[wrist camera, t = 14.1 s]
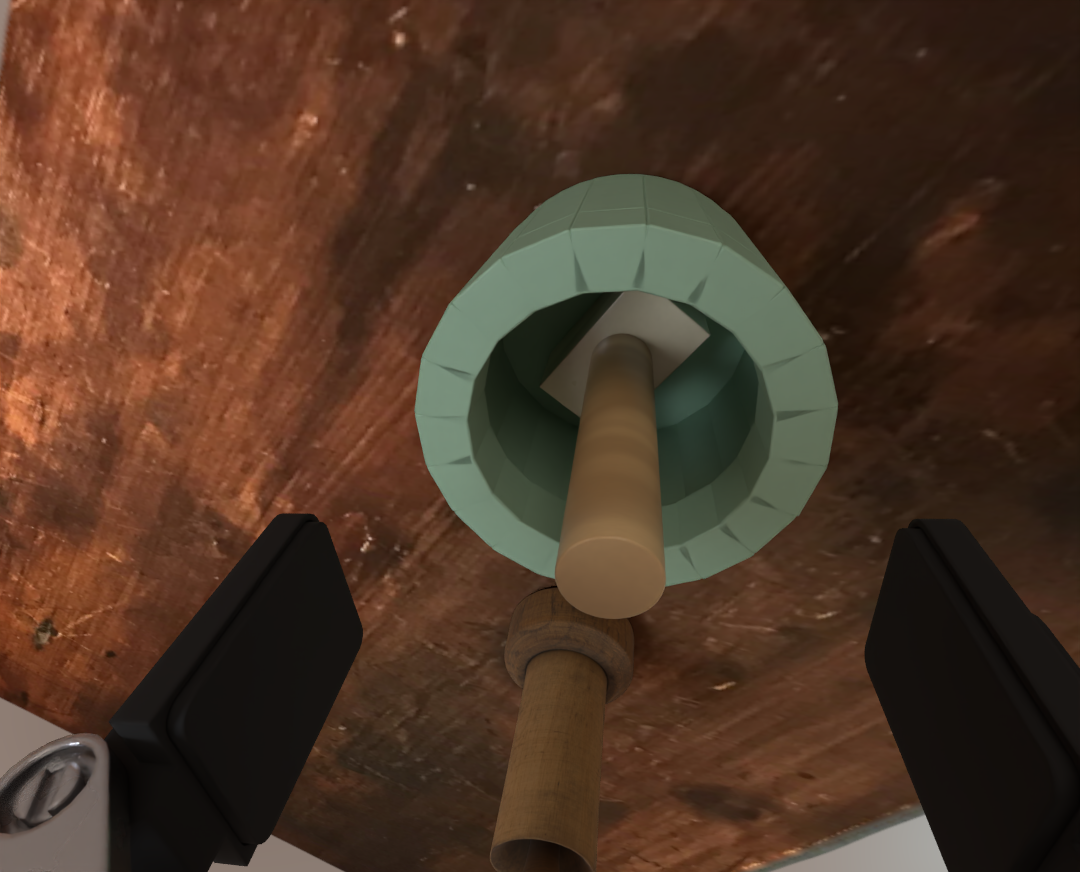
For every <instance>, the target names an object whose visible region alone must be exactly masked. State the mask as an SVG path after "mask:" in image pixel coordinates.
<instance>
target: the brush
mask: <svg viewBox="0 0 1080 872" xmlns="http://www.w3.org/2000/svg"><path fill="white" fill-rule="evenodd" d="M709 337H710V332H709V328H708V325H707V322H706V319H705V315H704V314H703V313H702V312H700V311H699V310H697V309H696V308H694V307H693V306H691V305H689V304H686V303H682V302H678V301H674V300H671V299H667V298H663V297H659V296H656V295H652V294H648V293H644V292H641V291H622V292H603V293H602V294H601V295H600V296H599V297H598V299H597V300H596V301H595V302H594V303H593V304H592V306H591V307H590V308H589V309H588V310H587V311H586V312H585V314H584V315H583V316H582V317H581V318H580V319H579V321H578V322H577V323H576V324H575V325H574V326H573V327H572V329H571V330H570V331H569V332H568V333H567V334H566V336H565V337H564V338H563V339H562V340H561V341H560V343H559V344H558V345H557V346H556V347H555V348H554V349H553V351H552V352H551V353H550V356H549V359H548V362H547V365H546V368H545V371H544V374H543V377H542V380H541V383H540V388H541V389H543V390H544V391H545V392H547V393H548V394H549V395H551V396H552V397H553V398H555V399H556V400H557V401H558V402H560V403H561V404H562V405H564V406H565V407H566V408H568V409H569V410H570V411H572V412H573V413H574V414H575V415H577V416H578V417H579V418H580V424H579V430H578V436H577V442H576V448H575V454H574V460H573V465H572V471H571V477H570V483H569V489H568V495H567V501H566V507H565V513H564V519H563V525H562V530H561V536H560V542H559V548H558V554H557V560H556V566H555V581H556V584H557V587H558V589H559V591H560V593H561V594H562V596H563V597H564V598H565V599H566V600H567V601H568V602H569V603H570V604H571V605H572V606H574V607H575V608H577V609H578V610H580V611H582V612H584V613H586V614H589V615H592V616H595V617H599V618H606V619H622V618H628V617H633V616H636V615H639V614H641V613H643V612H645V611H647V610H648V609H650V608H651V607H652V606H654V605H655V604H656V603H657V601H658V600H659V599H660V597H661V596H662V594H663V591H664V589H665V585H666V571H665V555H664V539H663V523H662V507H661V491H660V474H659V458H658V442H657V426H656V410H655V394H654V390H655V389H656V388H657V387H658V386H659V385H660V384H661V383H662V382H663V381H664V380H665V379H666V378H668V377H669V376H670V375H671V374H672V373H673V372H674V371H675V370H676V369H677V368H678V367H679V366H680V365H681V364H682V363H683V362H684V361H685V360H686V359H687V358H688V357H689V356H690V355H691V354H692V353H693V352H694V351H695V350H696V349H697V348H698V347H699V346H700V345H701V344H702V343H703V342H704V341H705V340H707V339H708V338H709Z"/></svg>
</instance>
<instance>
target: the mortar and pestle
mask: <svg viewBox="0 0 1080 872" xmlns="http://www.w3.org/2000/svg"><path fill="white" fill-rule="evenodd" d="M504 657H505V664H506V667H507V670H508V672H509V674H510V676H511V677H512V679H513V680H514V681H515V682H516V683H517V685H518V686H520V687H521V688H522V689H523V693H522V698H521V703H520V708H519V714H518V719H517V724H516V730H515V735H514V740H513V745H512V750H511V755H510V760H509V765H508V770H507V775H506V780H505V785H504V790H503V795H502V800H501V804H500V809H499V814H498V819H497V824H496V828H495V833H494V838H493V843H492V848H491V853H490V861H491V864H492V866H493V867H494V868H495V870H497V871H498V872H596V861H597V838H598V814H599V795H600V778H601V761H602V745H603V729H604V716H605V704H608V703H610V702H612V701H614V700H615V699H617V698H618V697H619V696H621V695H622V694H623V693H624V692H625V691H626V690H627V688H628V687H629V685H630V683H631V680H632V676H633V666H634V633H633V629H632V626H631V624H630V622H629V620H628V619H627V618H622V619H606V618H599V617H595V616H592V615H589V614H586V613H584V612H582V611H580V610H578V609H577V608H575V607H574V606H572V605H571V604H570V603H569V602H568V601H567V600H566V599H565V598H564V597H563V596H562V594H561V593H560V591H559V589H558V587H557V588H550V589H544V590H540V591H538V592H535V593H533V594H531V595H529V596H528V597H526V598H525V599H523V600H522V601H521V602H520V603H519V604H518V606H517V607H516V609H515V611H514V613H513V616H512V619H511V623H510V629H509V634H508V638H507V642H506V646H505V655H504Z"/></svg>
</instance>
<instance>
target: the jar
mask: <svg viewBox="0 0 1080 872" xmlns="http://www.w3.org/2000/svg"><path fill="white" fill-rule="evenodd" d="M622 291H641V292H644V293H648V294H652V295H656V296H659V297H663V298H667V299H671V300H674V301H678V302H682V303H686V304H689V305H691V306H693V307H694V308H696V309H697V310H699V311H700V312H702V313H703V314H704V315H705V319H706V322H707V325H708V328H709V332H710V337H709V338H708V339H707V340H705V341H704V342H703V343H702V344H701V345H700V346H699V347H698V348H697V349H696V350H695V351H694V352H693V353H692V354H691V355H690V356H689V357H688V358H687V359H686V360H685V361H684V362H683V363H682V364H681V365H680V366H679V367H678V368H677V369H676V370H675V371H674V372H673V373H672V374H671V375H670V376H669V377H668V378H666V379H665V380H664V381H663V382H662V383H661V384H660V385H659V386H658V387H657V388H656V389H655V390H654V394H655V410H656V426H657V442H658V458H659V474H660V491H661V507H662V523H663V539H664V555H665V571H666V585H665V587H666V586H670V585H675V584H680V583H685V582H690V581H695V580H700V579H701V578H703V579H705V578H708V577H710V576H712V575H714V574H716V573H718V572H720V571H722V570H724V569H726V568H728V567H730V566H733V565H735V564H737V563H739V562H741V561H743V560H745V559H747V558H749V557H751V556H753V555H754V553H756V552H757V551H759V550H760V549H761V548H762V547H763V546H764V545H765V544H766V543H768V542H769V541H770V540H771V539H772V538H773V537H774V536H776V535H777V534H778V533H779V532H780V531H781V530H782V529H783V528H785V527H786V526H787V525H788V524H789V523H790V522H791V521H793V520H794V519H795V517H796V516H798V515H799V514H800V512H801V511H802V509H803V507H804V506H805V504H806V502H807V501H808V499H809V497H810V496H811V494H812V492H813V490H814V489H815V487H816V485H817V484H818V482H819V480H820V479H821V477H822V475H823V474H824V472H825V470H826V468H827V465H828V461H829V456H830V450H831V445H832V439H833V433H834V428H835V422H836V417H837V411H838V407H837V406H838V401H837V396H836V392H835V387H834V382H833V377H832V373H831V368H830V363H829V359H828V354H827V349H826V345H825V344H824V343H823V339H822V338H821V336H820V335H819V334H818V332H817V331H816V329H815V328H814V326H813V325H812V323H811V322H810V320H809V319H808V317H807V316H806V315H805V313H804V312H803V310H802V309H801V307H800V306H799V304H798V303H797V301H796V300H795V298H794V297H793V295H792V294H791V293H790V291H789V290H788V288H787V287H786V286H785V284H784V283H783V282H782V280H781V279H780V278H779V277H778V275H777V274H776V273H775V271H774V270H773V269H772V268H771V266H770V265H769V264H768V262H767V261H766V260H765V258H764V257H763V256H762V255H761V253H760V252H759V251H758V249H757V248H756V247H755V245H754V244H753V243H752V242H751V240H750V239H749V238H748V236H747V235H746V234H745V233H744V231H743V230H742V229H741V227H740V226H739V225H738V223H737V222H736V221H735V220H734V218H732V217H731V215H730V214H728V213H727V212H725V211H724V210H723V209H722V208H720V207H719V206H718V205H717V204H716V203H715V202H714V201H712V200H711V199H709V198H708V197H706V196H704V195H703V194H701V193H700V192H698V191H697V190H694V189H692V188H690V187H688V186H685V185H683V184H681V183H679V182H676V181H672V180H669V179H665V178H661V177H657V176H649V175H642V174H618V175H611V176H604V177H598V178H595V179H592V180H588V181H585V182H582V183H579V184H576V185H574V186H572V187H570V188H568V189H566V190H563V191H561V192H560V193H558V194H557V195H555V196H553V197H551V198H549V200H546V201H545V202H544V203H543V204H542V205H541V206H540V207H538V208H537V209H536V210H535V211H534V212H532V213H531V214H530V215H529V216H528V217H527V219H525V220H524V221H523V222H522V223H521V224H520V225H519V226H518V227H517V228H516V229H515V230H514V231H513V232H512V233H511V234H510V235H509V236H508V238H507V239H506V240H505V241H504V242H503V243H502V244H501V245H500V247H499V248H498V249H497V250H496V251H495V252H494V253H493V255H492V256H491V257H490V258H489V259H488V260H487V261H486V263H485V264H484V265H483V266H482V267H481V268H480V269H479V270H478V272H477V273H476V274H475V275H474V276H473V277H472V278H471V280H470V281H469V282H468V283H467V284H466V285H465V286H464V288H463V289H462V290H461V291H460V292H459V293H458V294H457V295H456V297H455V298H454V299H453V300H452V301H451V302H450V304H449V305H448V307H447V309H446V311H445V313H444V315H443V317H442V318H441V320H440V322H439V324H438V326H437V328H436V330H435V332H434V334H433V336H432V337H431V339H430V341H429V343H428V345H427V347H426V349H425V351H424V353H423V355H422V358H421V364H420V372H419V380H418V388H417V396H416V403H415V413H416V414H415V417H416V422H417V426H418V431H419V435H420V440H421V444H422V449H423V453H424V458H425V462H426V465H427V468H428V470H429V472H430V473H431V475H432V477H433V478H434V480H435V482H436V484H437V485H438V487H439V489H440V490H441V492H442V494H443V495H444V497H445V499H446V501H447V502H448V504H449V506H450V507H451V509H452V510H453V511H455V514H456V515H457V516H458V517H459V518H460V519H462V520H463V521H464V522H465V523H466V524H467V525H468V526H469V527H470V528H471V529H472V530H473V531H474V532H475V533H476V534H477V535H478V536H480V537H481V538H482V539H483V540H484V541H485V542H486V543H487V544H488V545H489V546H490V547H492V549H493V550H495V551H497V552H499V553H500V554H502V555H504V556H506V557H508V558H510V559H511V560H513V561H515V562H517V563H519V564H520V565H522V566H524V567H526V568H528V569H530V570H531V571H533V572H535V573H537V574H540V575H543V576H546V577H550V578H554V579H555V566H556V560H557V554H558V548H559V542H560V536H561V530H562V525H563V519H564V513H565V507H566V501H567V495H568V489H569V483H570V477H571V471H572V465H573V460H574V454H575V448H576V442H577V436H578V430H579V424H580V418H579V417H578V416H577V415H575V414H574V413H573V412H572V411H570V410H569V409H568V408H566V407H565V406H564V405H562V404H561V403H560V402H558V401H557V400H556V399H555V398H553V397H552V396H551V395H549V394H548V393H547V392H545V391H544V390H543V389H541V388H540V383H541V380H542V377H543V374H544V371H545V368H546V365H547V362H548V359H549V356H550V353H551V352H552V351H553V349H554V348H555V347H556V346H557V345H558V344H559V343H560V341H561V340H562V339H563V338H564V337H565V336H566V334H567V333H568V332H569V331H570V330H571V329H572V327H573V326H574V325H575V324H576V323H577V322H578V321H579V319H580V318H581V317H582V316H583V315H584V314H585V312H586V311H587V310H588V309H589V308H590V307H591V306H592V304H593V303H594V302H595V301H596V300H597V299H598V297H599V296H600V295H601V294H602V293H603V292H622Z"/></svg>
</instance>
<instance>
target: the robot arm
mask: <svg viewBox="0 0 1080 872" xmlns="http://www.w3.org/2000/svg"><path fill="white" fill-rule="evenodd" d="M362 637H363V629H362V625H361V622H360V619H359V616H358V613H357V610H356V607H355V605H354V602H353V599H352V596H351V593H350V590H349V588H348V585H347V582H346V579H345V576H344V573H343V570H342V568H341V565H340V562H339V559H338V556H337V553H336V551H335V548H334V545H333V542H332V539H331V536H330V533H329V531H328V528H327V526H326V525H325V524H324V523H323V522H319V520H318V518H317V517H316V516H315V515H313V514H283V513H282V514H279V515H277V516H276V517H275V518H274V519H273V520H272V521H271V523H270V524H269V525H268V526H267V528H266V529H265V530H264V531H263V532H262V534H261V535H260V536H259V537H258V539H257V540H256V541H255V542H254V544H253V545H252V546H251V547H250V548H249V550H248V551H247V552H246V553H245V555H244V556H243V557H242V558H241V560H240V561H239V562H238V563H237V564H236V566H235V567H234V568H233V569H232V571H231V572H230V573H229V574H228V576H227V577H226V578H225V579H224V580H223V582H222V583H221V584H220V585H219V587H218V588H217V589H216V590H215V592H214V593H213V594H212V595H211V596H210V598H209V599H208V600H207V601H206V603H205V604H204V605H203V606H202V608H201V609H200V610H199V611H198V612H197V614H196V615H195V616H194V617H193V619H192V620H191V621H190V622H189V624H188V625H187V626H186V627H185V629H184V630H183V631H182V632H181V633H180V635H179V636H178V637H177V638H176V640H175V641H174V642H173V643H172V645H171V646H170V647H169V648H168V649H167V651H166V652H165V653H164V654H163V656H162V657H161V658H160V659H159V661H158V662H157V663H156V664H155V665H154V667H153V668H152V669H151V670H150V672H149V673H148V674H147V675H146V677H145V678H144V679H143V680H142V681H141V683H140V684H139V685H138V686H137V688H136V689H135V690H134V691H133V693H132V694H131V695H130V696H129V697H128V699H127V700H126V701H125V702H124V704H123V705H122V706H121V707H120V709H119V710H118V711H117V712H116V713H115V715H114V716H113V717H112V718H111V720H110V721H109V723H110V724H111V726H112V727H113V729H112V730H111V732H110V733H109V734H108V735H107V737H106V738H105V739H104V740H103V739H102V738H101V737H100V736H98V735H94V734H89V733H80V734H74V735H68V736H65V737H63V738H60V739H57V740H55V741H52V742H49V743H47V744H46V745H44V746H42V747H40V748H39V749H37V750H35V751H33V752H32V753H30V754H29V755H27V756H26V757H25V758H23V759H22V760H21V761H19V762H18V763H17V764H16V765H14V766H13V767H11V768H10V769H9V770H8V771H7V772H6V773H5V774H4V775H3V777H1V778H0V872H208V870H209V868H210V866H211V864H212V862H213V861H214V862H215V863H222V864H231V865H239V866H248V864H249V862H250V859H251V858H252V856H253V853H254V851H255V849H256V847H257V845H258V844H262V843H264V842H265V841H266V840H267V839H268V838H269V837H270V835H271V833H272V831H273V830H274V827H275V825H276V823H277V821H278V819H279V817H280V815H281V813H282V811H283V809H284V806H285V804H286V802H287V800H288V798H289V796H290V794H291V792H292V790H293V788H294V785H295V783H296V781H297V779H298V777H299V775H300V773H301V771H302V769H303V766H304V764H305V762H306V760H307V758H308V756H309V754H310V752H311V750H312V748H313V745H314V743H315V741H316V739H317V737H318V735H319V733H320V731H321V729H322V727H323V724H324V722H325V720H326V718H327V716H328V714H329V712H330V710H331V708H332V706H333V703H334V701H335V699H336V697H337V695H338V693H339V691H340V689H341V687H342V684H343V682H344V680H345V678H346V676H347V674H348V672H349V670H350V668H351V666H352V663H353V661H354V659H355V657H356V655H357V653H358V651H359V649H360V646H361V643H362ZM865 663H866V668H867V671H868V673H869V676H870V678H871V681H872V683H873V686H874V688H875V691H876V693H877V696H878V698H879V701H880V703H881V706H882V708H883V711H884V713H885V716H886V718H887V721H888V723H889V726H890V728H891V731H892V733H893V736H894V738H895V741H896V743H897V746H898V748H899V750H900V753H901V755H902V758H903V760H904V763H905V765H906V768H907V770H908V773H909V775H910V778H911V780H912V783H913V785H914V788H915V790H916V793H917V795H918V798H919V800H920V803H921V805H922V808H923V810H924V813H925V815H926V818H927V820H928V822H929V825H930V827H931V830H932V832H933V835H934V837H935V840H936V842H937V845H938V847H939V850H940V852H941V855H942V857H943V860H944V862H945V864H946V867H947V870H948V872H1080V668H1079V667H1078V666H1077V664H1076V663H1075V662H1074V661H1073V659H1072V658H1071V657H1070V655H1069V654H1068V653H1067V651H1066V650H1065V649H1064V647H1063V646H1062V645H1061V644H1060V642H1059V641H1058V640H1057V638H1056V637H1055V636H1054V634H1053V633H1052V632H1051V630H1050V629H1049V628H1048V627H1047V625H1046V624H1045V623H1044V622H1043V621H1042V620H1041V619H1040V618H1039V617H1038V616H1036V615H1034V614H1032V613H1031V612H1030V611H1029V609H1028V608H1027V607H1026V605H1025V604H1024V603H1023V601H1022V600H1021V599H1020V597H1019V596H1018V595H1017V593H1016V592H1015V591H1014V589H1013V588H1012V587H1011V585H1010V584H1009V583H1008V581H1007V580H1006V579H1005V578H1004V576H1003V575H1002V574H1001V572H1000V571H999V570H998V568H997V567H996V566H995V564H994V563H993V562H992V560H991V559H990V558H989V556H988V555H987V554H986V552H985V551H984V550H983V548H982V547H981V546H980V544H979V543H978V542H977V540H976V539H975V538H974V536H973V535H972V534H971V532H970V531H969V530H968V528H967V527H966V526H965V525H964V524H963V523H962V522H961V521H959V520H957V519H915V520H912V522H911V523H910V524H909V526H908V528H902V529H899V530H898V531H897V533H896V536H895V539H894V543H893V547H892V550H891V554H890V558H889V561H888V565H887V569H886V572H885V576H884V579H883V583H882V587H881V590H880V594H879V598H878V601H877V605H876V609H875V612H874V616H873V620H872V623H871V627H870V630H869V634H868V638H867V641H866V645H865Z"/></svg>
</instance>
